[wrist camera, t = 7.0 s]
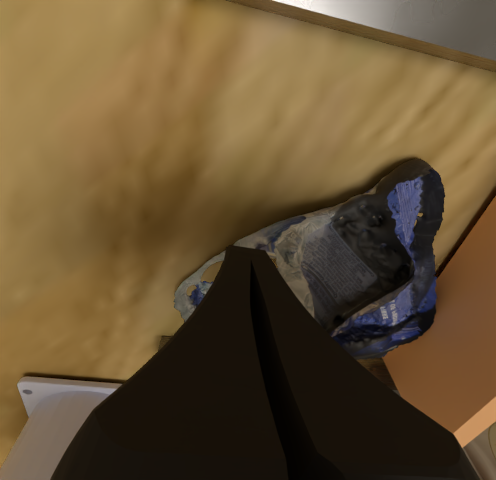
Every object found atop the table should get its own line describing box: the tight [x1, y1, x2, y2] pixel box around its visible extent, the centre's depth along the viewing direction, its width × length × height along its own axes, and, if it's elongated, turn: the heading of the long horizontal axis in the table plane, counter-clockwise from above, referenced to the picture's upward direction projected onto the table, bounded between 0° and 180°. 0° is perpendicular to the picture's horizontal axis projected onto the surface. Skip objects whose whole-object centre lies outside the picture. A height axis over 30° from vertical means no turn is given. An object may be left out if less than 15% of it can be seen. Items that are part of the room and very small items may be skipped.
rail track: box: [158, 0, 496, 396], centre depth 13 cm, size 18×18×2 cm
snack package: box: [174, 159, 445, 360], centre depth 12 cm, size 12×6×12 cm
